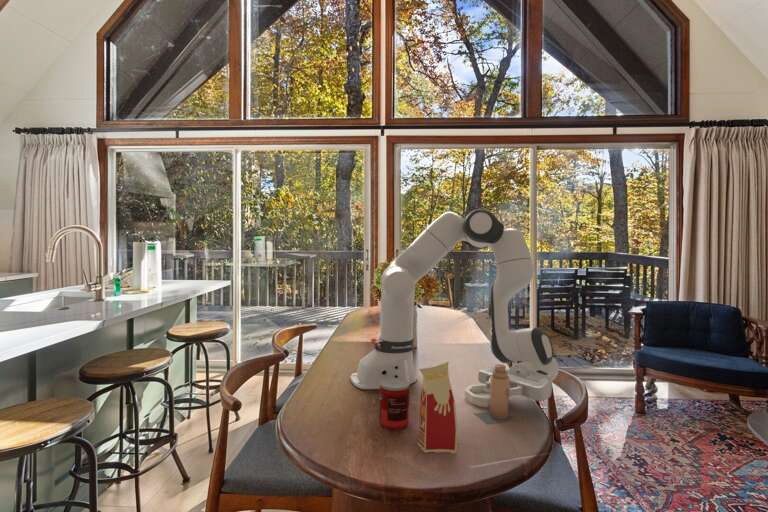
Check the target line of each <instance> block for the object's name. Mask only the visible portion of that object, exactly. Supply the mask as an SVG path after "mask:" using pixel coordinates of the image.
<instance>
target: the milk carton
mask: <svg viewBox="0 0 768 512" xmlns="http://www.w3.org/2000/svg"><path fill="white" fill-rule="evenodd" d="M418 370H419V371H420V372H421V375H422V377H423V378H422V384H421V389H420V390H421V392H420V400H419V401H420V403H419V414H418V416H419V420H418V422H419V423H418V424H419V427H418V435H417V436H418V437H417V447H419V446H420V447H421V448H420V447H419V448H420V449H421V450H422V451H423V452H424V453H425V454H428V453H427V452H434V453H441V452H451V453H450V454H457V453H458V452H457V451H458V450H457V449H458V421H457V419H458V418H457V411H456V399H455V397H454V392H453V389H452V384H451V381H450V378H449V377H450V375H449V361H446V362H443V363H442V362H441V363H440V364H436V365H434V366H429V367H428V366H427V367H422V368H418Z"/></svg>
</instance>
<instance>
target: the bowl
mask: <svg viewBox="0 0 768 512" xmlns="http://www.w3.org/2000/svg"><path fill="white" fill-rule="evenodd" d="M464 398H465V399H466V401H467V402H468V403H470V404H472V405H474V406H476V407H477V406H478V407H483V408H490V389H487V388H486V384H483V383H479V384H478V383H477V384H469V385H468V386H466V388H465V389H464Z"/></svg>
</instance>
